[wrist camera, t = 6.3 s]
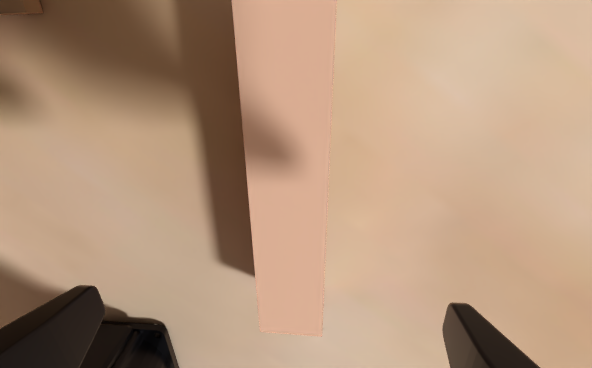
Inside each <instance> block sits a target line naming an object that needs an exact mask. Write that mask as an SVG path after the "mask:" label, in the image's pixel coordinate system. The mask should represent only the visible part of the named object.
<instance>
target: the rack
mask: <svg viewBox="0 0 592 368" xmlns="http://www.w3.org/2000/svg"><path fill="white" fill-rule="evenodd" d="M34 13H43V10H42V7H41V4H40V1H39V0H0V15H10V14H34Z"/></svg>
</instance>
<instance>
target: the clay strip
mask: <svg viewBox="0 0 592 368" xmlns="http://www.w3.org/2000/svg"><path fill="white" fill-rule="evenodd" d="M336 7H337V0H232V10H233V22H234V33H235V45H236V57H237V69H238V80H239V92H240V104H241V115H242V127H243V139H244V151H245V162H246V174H247V186H248V198H249V209H250V221H251V233H252V244H253V256H254V268H255V280H256V291H257V303H258V315H259V326H260V332H269V333H282V334H295V335H309V336H322V325H323V302H324V279H325V256H326V234H327V211H328V188H329V166H330V143H331V120H332V98H333V75H334V52H335V29H336Z"/></svg>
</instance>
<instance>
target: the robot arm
mask: <svg viewBox="0 0 592 368" xmlns="http://www.w3.org/2000/svg"><path fill="white" fill-rule="evenodd" d="M104 315H105V306H104V304H103V301H102V299H101V296H100V294H99V292H98V289H97V288H96V287H95V286H88V285H79V286H76V287H74V288H73V289H71V290H69V291H67V292H65V293H64V294H62V295H60V296H58V297H56V298H55V299H53V300H51V301H49V302H47V303H46V304H44V305H42V306H40V307H38V308H37V309H35V310H33V311H31V312H29V313H27V314H26V315H24V316H22V317H20V318H18V319H17V320H15V321H13V322H11V323H9V324H8V325H6V326H4V327H2V328H0V368H179V366H178V363H177V359H176V356H175V353H174V350H173V347H172V343H171V340H170V337H169V334H168V331H167V329H166V328H165V327H164V326H162V325H153V324H137V323H120V322H104V321H102V320H103V318H104ZM443 338H444V342H445V346H446V351H447V355H448V359H449V364H450V368H540V367H539V366H538V365H537V364H535V363H534V362H533V361H532V360H531V359H530V358H529V357H528V356H526V355H525V354H524V353H523V352H522V351H521V350H520V349H519V348H518V347H516V346H515V345H514V344H513V343H512V342H511V341H510V340H509V339H507V338H506V337H505V336H504V335H503V334H502V333H501V332H500V331H498V330H497V329H496V328H495V327H494V326H493V325H492V324H491V323H490V322H488V321H487V320H486V319H485V318H484V317H483V316H482V315H481V314H479V313H478V312H477V311H476V310H475V309H474V308H473V307H472V306H470V305H469V304H466V303H450V304H449V305H448V307H447V311H446V315H445V319H444V323H443Z"/></svg>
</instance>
